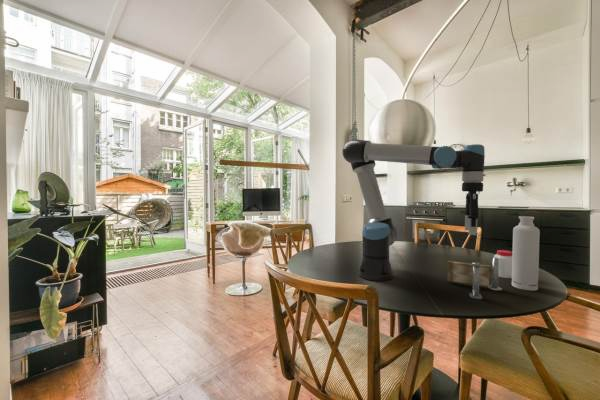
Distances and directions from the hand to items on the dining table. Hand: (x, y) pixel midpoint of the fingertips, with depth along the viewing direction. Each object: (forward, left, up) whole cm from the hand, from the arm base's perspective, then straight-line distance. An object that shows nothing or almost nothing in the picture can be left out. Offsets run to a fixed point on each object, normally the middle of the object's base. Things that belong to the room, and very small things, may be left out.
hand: (470, 232), depth 114 cm
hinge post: (+8, -7, -21) cm, 23 cm away
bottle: (+19, +1, -21) cm, 28 cm away
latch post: (0, -19, -21) cm, 28 cm away
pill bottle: (+15, +15, -21) cm, 30 cm away
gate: (-1, -7, -20) cm, 21 cm away
